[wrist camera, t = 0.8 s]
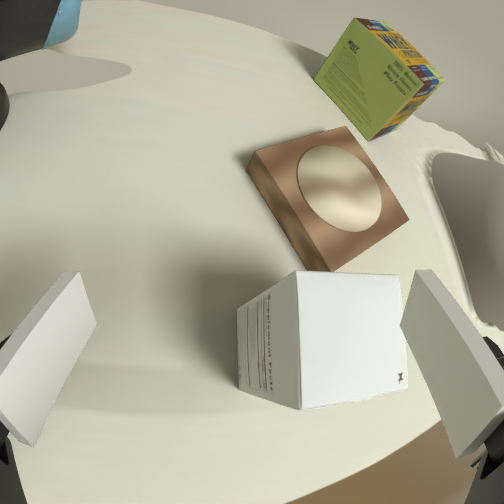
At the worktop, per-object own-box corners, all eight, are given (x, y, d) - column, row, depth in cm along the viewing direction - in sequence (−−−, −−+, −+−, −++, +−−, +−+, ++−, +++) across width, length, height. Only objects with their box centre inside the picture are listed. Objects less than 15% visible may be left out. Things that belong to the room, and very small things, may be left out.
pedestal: (245, 169, 39) (256, 149, 35) (332, 141, 45) (346, 124, 41) (314, 281, 36) (333, 271, 32) (391, 230, 43) (410, 218, 39)
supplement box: (313, 307, 35) (402, 271, 22) (316, 385, 32) (412, 391, 19) (234, 305, 33) (294, 265, 19) (236, 391, 30) (300, 414, 16)
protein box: (368, 143, 48) (425, 85, 34) (311, 79, 50) (352, 15, 36) (396, 130, 52) (447, 81, 38) (345, 73, 54) (384, 20, 40)
